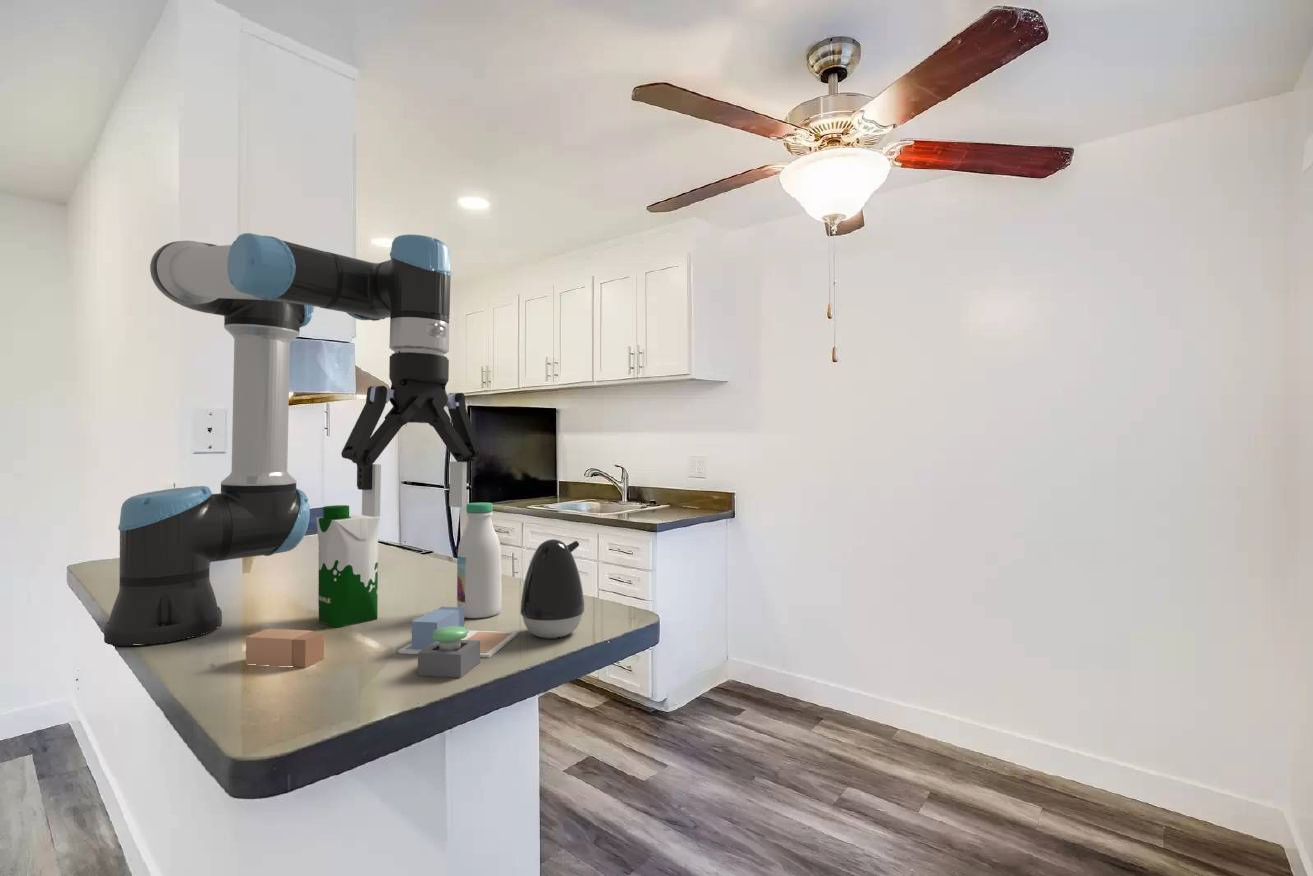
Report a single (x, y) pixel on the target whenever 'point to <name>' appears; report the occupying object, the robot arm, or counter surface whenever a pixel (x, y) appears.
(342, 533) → the milk carton
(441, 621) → the block
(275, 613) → the counter surface
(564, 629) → the pump dispenser
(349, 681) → the counter surface
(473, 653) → the button housing
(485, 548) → the milk bottle
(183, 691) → the counter surface
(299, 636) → the block
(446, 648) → the button
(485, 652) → the picture board
